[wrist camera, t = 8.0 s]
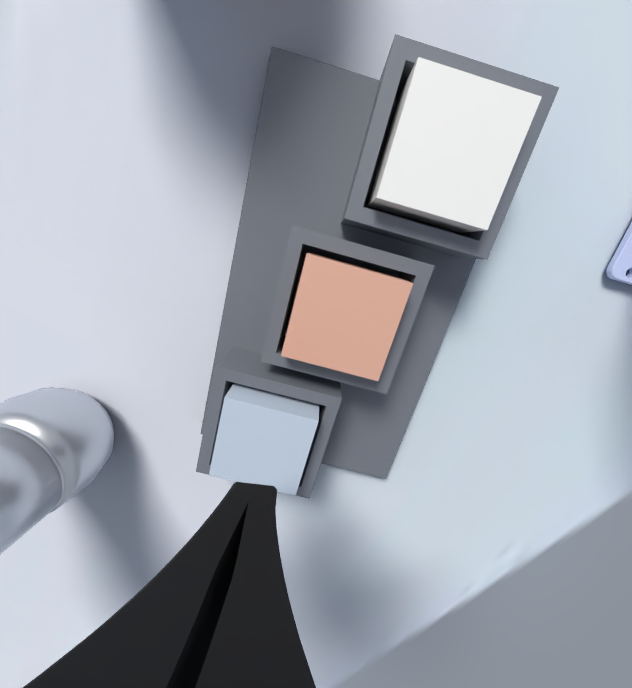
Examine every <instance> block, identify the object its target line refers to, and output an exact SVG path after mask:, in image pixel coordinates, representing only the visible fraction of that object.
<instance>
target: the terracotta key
mask: <svg viewBox="0 0 632 688" xmlns="http://www.w3.org/2000/svg"><path fill="white" fill-rule="evenodd" d="M412 286H413V283H411V282H409V281H406V280H404V279H402V278H399V277H396V276H392V275H389V274H385V273H382V272H378V271H374V270H371V269H367V268H364V267H360V266H357V265H353V264H350V263H346V262H342V261H339V260H335V259H332V258H328V257H325V256H321V255H317V254H314V253H310V252H309V253H307V254H306V258H305V262H304V266H303V269H302V273H301V277H300V281H299V285H298V289H297V293H296V297H295V301H294V305H293V309H292V313H291V317H290V321H289V325H288V329H287V333H286V337H285V341H284V345H283V349H282V353H281V356H283V357H287V358H291V359H295V360H299V361H302V362H306V363H310V364H314V365H318V366H322V367H325V368H329V369H333V370H337V371H341V372H345V373H348V374H352V375H356V376H360V377H364V378H368V379H371V380H375V381H379V378H380V375H381V372H382V369H383V367H384V364H385V361H386V358H387V356H388V353H389V350H390V347H391V344H392V342H393V339H394V336H395V333H396V330H397V328H398V325H399V322H400V319H401V317H402V314H403V311H404V308H405V305H406V303H407V300H408V297H409V294H410V291H411V289H412Z"/></svg>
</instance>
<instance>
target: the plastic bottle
mask: <svg viewBox="0 0 632 688" xmlns="http://www.w3.org/2000/svg"><path fill="white" fill-rule="evenodd" d="M113 444H114V428H113V424H112V421H111V419H110V417H109V415H108V413H107V412H106V410H105V409H104V408H103V407H102V406H101V405H100V404H99V403H98V402H97V401H96V400H95V399H93V398H91V397H90V396H88V395H86V394H84V393H82V392H79V391H75V390H71V389H64V388H53V387H51V388H42V389H38V390H35V391H32V392H29V393H26V394H23V395H19V396H16V397H13V398H10V399H8V400H6V401H4V402H3V403H1V404H0V554H1V553H3V552H4V551H5V550H6V549H7V548H8V547H10V546H11V545H12V544H13V543H14V542H16V541H17V540H18V539H19V538H20V537H21V536H23V535H24V534H25V533H26V532H27V531H29V530H30V529H31V528H32V527H33V526H34V525H36V524H37V523H38V522H39V521H40V520H42V519H43V518H44V517H45V516H46V515H47V514H49V513H50V512H52V511H54V510H56V509H57V508H59V507H60V506H62V505H63V504H64V503H66V502H67V501H69V500H70V499H71V498H72V497H74V496H75V495H76V494H77V493H79V492H80V491H81V490H82V489H84V488H85V487H86V486H87V485H89V484H90V483H91V482H92V481H93V480H94V479H95V477H96V476H97V475H98V473H99V472H100V470H101V469H102V468H103V466H104V465H105V463H106V462H107V460H108V459H109V458H110V455H111V453H112V450H113Z"/></svg>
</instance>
